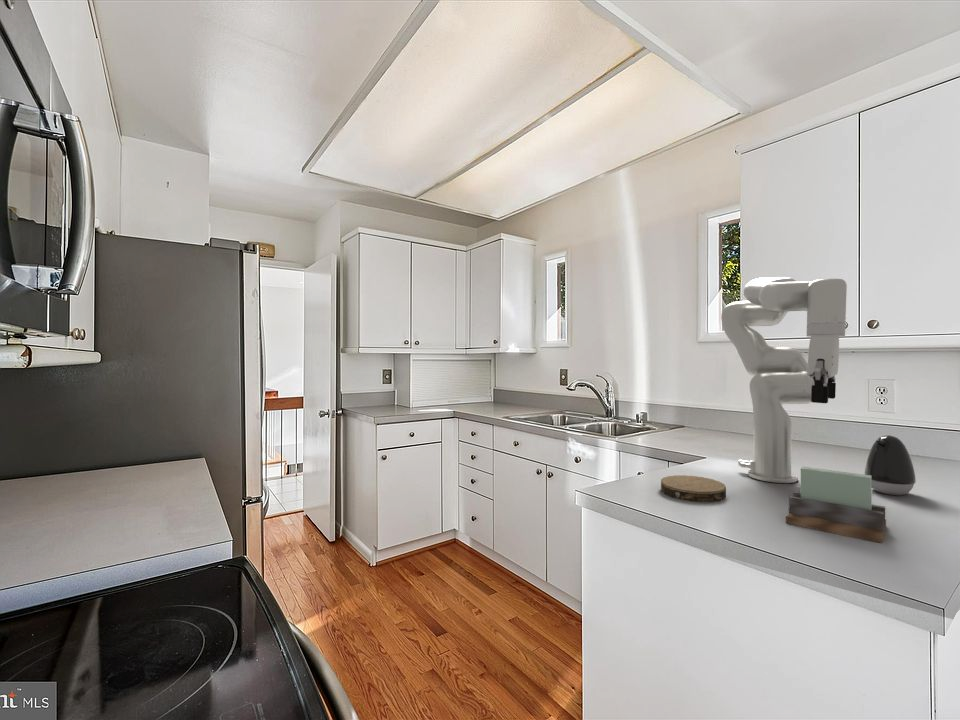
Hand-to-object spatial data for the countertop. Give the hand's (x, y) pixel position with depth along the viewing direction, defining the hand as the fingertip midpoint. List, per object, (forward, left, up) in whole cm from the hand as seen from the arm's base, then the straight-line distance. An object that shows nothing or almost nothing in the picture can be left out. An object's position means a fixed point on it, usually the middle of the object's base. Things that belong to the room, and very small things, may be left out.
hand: (823, 400), depth 113 cm
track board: (+4, -14, -26) cm, 30 cm away
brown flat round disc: (-27, -11, -26) cm, 39 cm away
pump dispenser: (+11, +24, -26) cm, 37 cm away
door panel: (+4, -14, -24) cm, 28 cm away
